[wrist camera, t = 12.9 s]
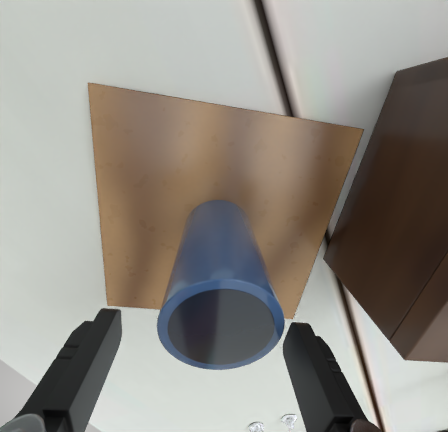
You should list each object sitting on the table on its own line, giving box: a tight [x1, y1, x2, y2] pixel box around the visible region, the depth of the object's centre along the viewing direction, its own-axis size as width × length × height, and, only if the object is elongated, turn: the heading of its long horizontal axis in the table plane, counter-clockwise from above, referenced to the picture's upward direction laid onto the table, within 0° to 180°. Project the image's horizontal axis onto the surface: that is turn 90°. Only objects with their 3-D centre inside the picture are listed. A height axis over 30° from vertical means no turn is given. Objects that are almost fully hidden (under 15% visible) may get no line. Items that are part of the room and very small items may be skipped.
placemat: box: [88, 83, 364, 319], centre depth 19 cm, size 20×20×1 cm
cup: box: [157, 200, 285, 370], centre depth 15 cm, size 6×6×10 cm
